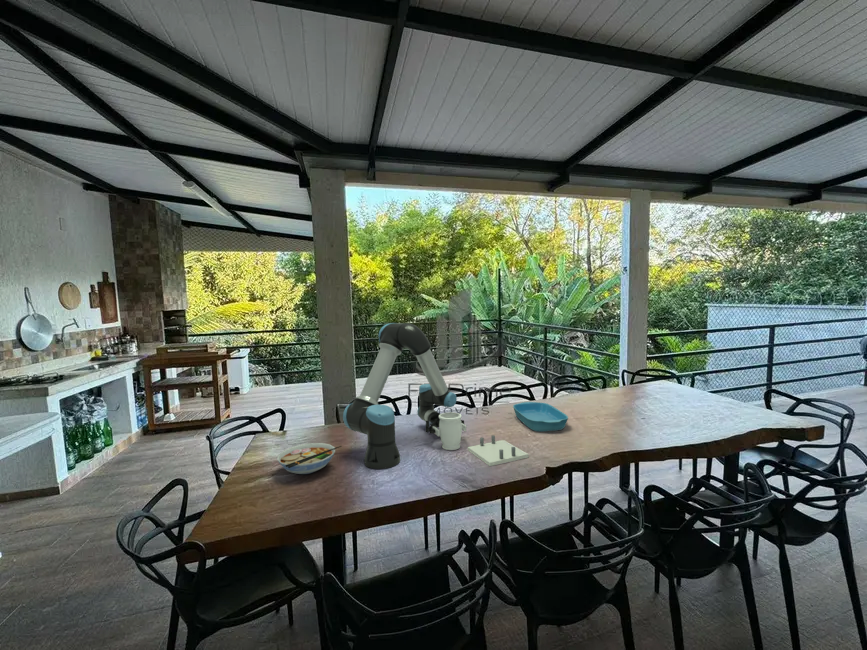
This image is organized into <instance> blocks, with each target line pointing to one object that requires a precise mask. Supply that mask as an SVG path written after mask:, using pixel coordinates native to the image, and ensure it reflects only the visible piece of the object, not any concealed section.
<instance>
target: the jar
mask: <svg viewBox="0 0 867 650" xmlns="http://www.w3.org/2000/svg"><path fill="white" fill-rule="evenodd" d="M439 419H440V422H439V427H438V430H440V436H439V437H440V440H441V443H442V445H441V447H442V449H443V450H446V451H455V450H458V449H460V448H461V444H460V443H461V441H462V433H463V430H462V423H461V420H462V414H461V413H458V412H453V411H451V412H443V413H440V415H439Z"/></svg>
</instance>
